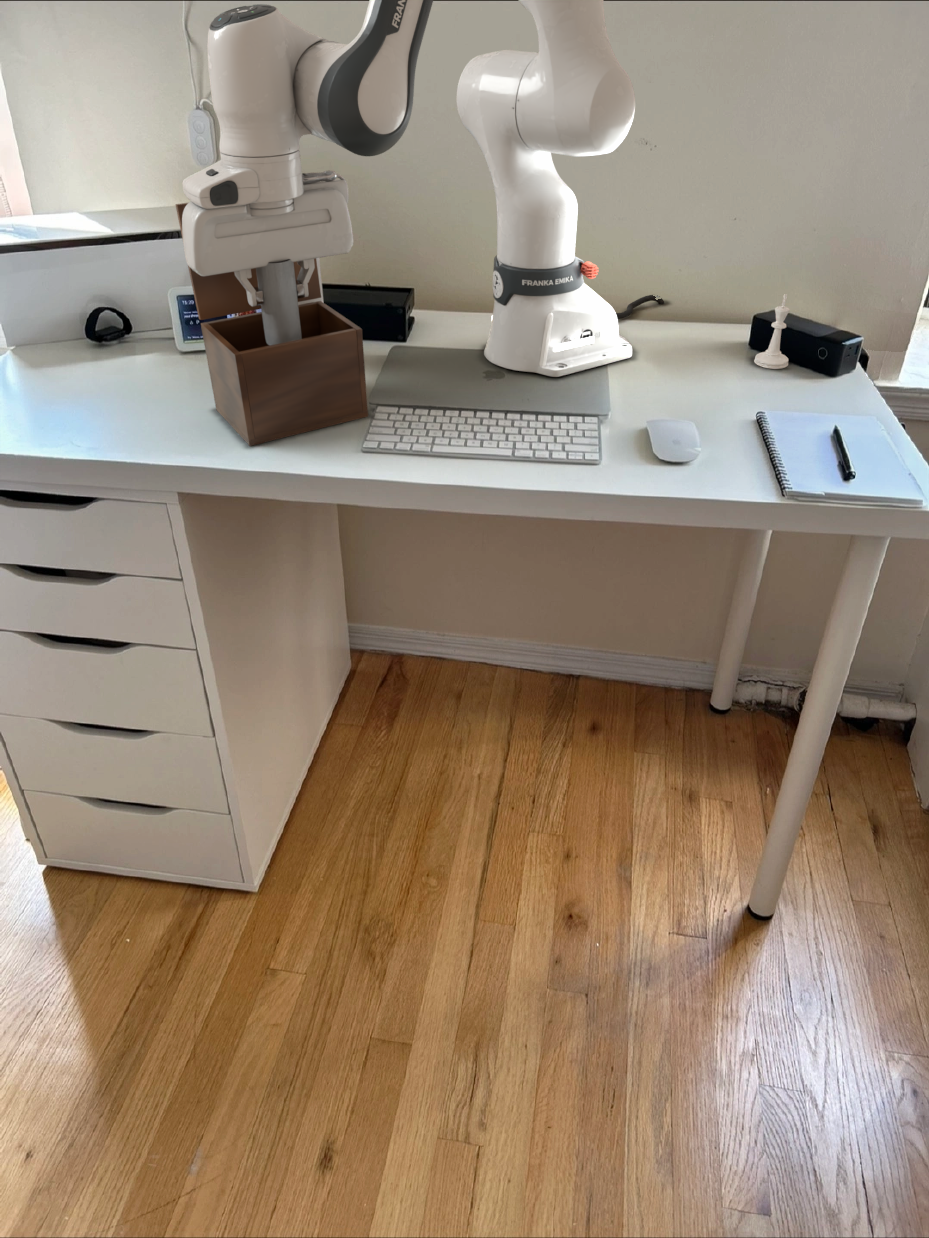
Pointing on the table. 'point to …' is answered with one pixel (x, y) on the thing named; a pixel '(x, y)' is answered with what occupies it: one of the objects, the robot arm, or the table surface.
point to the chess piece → (775, 342)
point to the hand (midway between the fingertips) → (278, 300)
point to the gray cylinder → (279, 302)
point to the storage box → (286, 374)
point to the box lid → (232, 288)
